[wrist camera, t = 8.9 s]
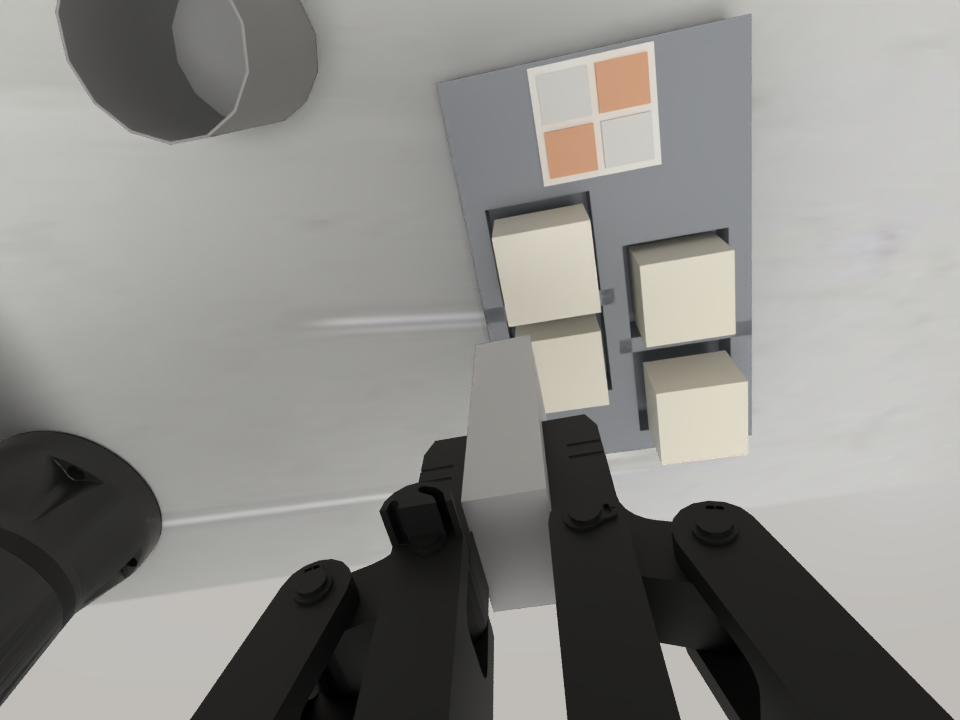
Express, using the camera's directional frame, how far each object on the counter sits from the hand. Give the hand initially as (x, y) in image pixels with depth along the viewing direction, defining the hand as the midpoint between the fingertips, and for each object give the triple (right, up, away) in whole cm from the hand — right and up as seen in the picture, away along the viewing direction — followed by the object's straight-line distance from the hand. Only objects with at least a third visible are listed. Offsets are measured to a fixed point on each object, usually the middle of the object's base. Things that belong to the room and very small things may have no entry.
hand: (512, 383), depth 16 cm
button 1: (+12, -1, +21) cm, 25 cm away
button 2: (+4, +2, +23) cm, 23 cm away
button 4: (+3, +7, +18) cm, 19 cm away
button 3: (+11, +6, +20) cm, 24 cm away
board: (+7, +8, +22) cm, 25 cm away
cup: (-14, +19, +18) cm, 30 cm away
